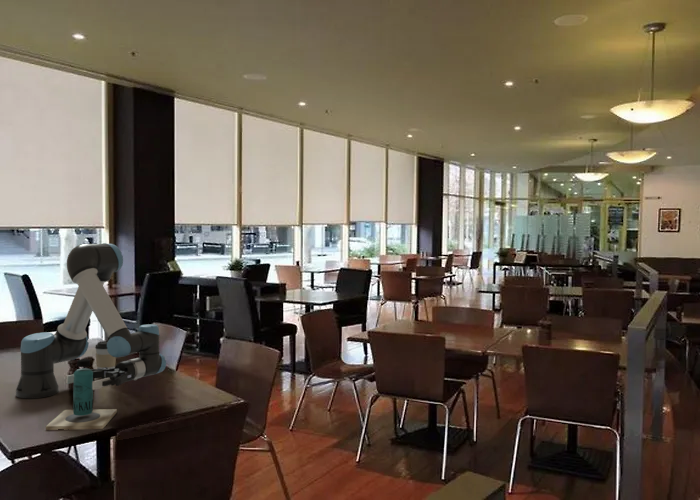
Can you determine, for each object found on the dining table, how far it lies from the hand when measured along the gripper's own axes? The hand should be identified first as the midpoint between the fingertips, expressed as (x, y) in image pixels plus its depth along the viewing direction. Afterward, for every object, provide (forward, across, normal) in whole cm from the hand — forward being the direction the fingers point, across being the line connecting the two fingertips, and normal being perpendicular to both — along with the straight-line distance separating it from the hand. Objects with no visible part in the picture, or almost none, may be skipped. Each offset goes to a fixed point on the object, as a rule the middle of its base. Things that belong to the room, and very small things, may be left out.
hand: (79, 382), depth 210 cm
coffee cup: (-48, +46, -14) cm, 68 cm away
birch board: (-1, 0, -14) cm, 14 cm away
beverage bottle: (-1, 0, -12) cm, 13 cm away
